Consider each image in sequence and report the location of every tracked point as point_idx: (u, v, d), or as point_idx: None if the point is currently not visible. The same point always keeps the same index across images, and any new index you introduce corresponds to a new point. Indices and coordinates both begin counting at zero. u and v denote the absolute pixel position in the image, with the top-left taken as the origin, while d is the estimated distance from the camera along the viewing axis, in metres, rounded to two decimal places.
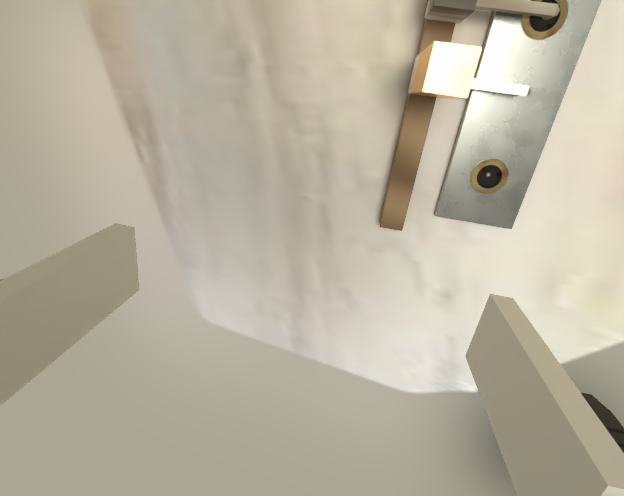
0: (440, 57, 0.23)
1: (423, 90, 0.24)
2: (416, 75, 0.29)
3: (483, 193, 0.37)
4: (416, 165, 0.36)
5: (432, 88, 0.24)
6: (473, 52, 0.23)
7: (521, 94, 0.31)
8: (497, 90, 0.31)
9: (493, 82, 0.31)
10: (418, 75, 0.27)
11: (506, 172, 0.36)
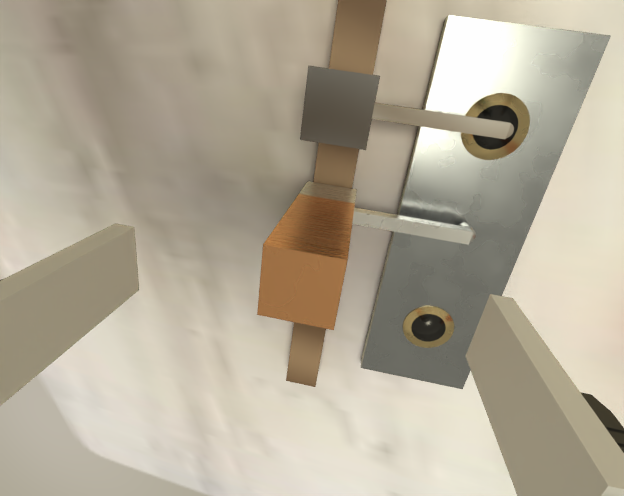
0: (278, 269, 0.13)
1: (259, 312, 0.14)
2: None
3: (421, 345, 0.27)
4: None
5: (273, 311, 0.14)
6: (333, 266, 0.12)
7: (461, 242, 0.21)
8: (426, 235, 0.21)
9: (419, 224, 0.21)
10: None
11: (451, 323, 0.25)
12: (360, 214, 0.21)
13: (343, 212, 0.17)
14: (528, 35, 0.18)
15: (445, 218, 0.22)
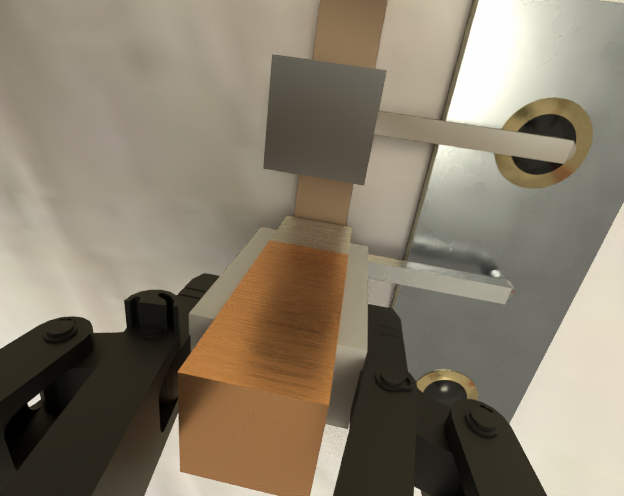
0: (207, 410, 0.07)
1: (183, 469, 0.08)
2: None
3: None
4: None
5: (205, 469, 0.08)
6: (303, 414, 0.07)
7: (495, 300, 0.15)
8: (446, 290, 0.15)
9: (438, 276, 0.15)
10: None
11: (474, 392, 0.20)
12: None
13: (331, 275, 0.11)
14: (597, 15, 0.13)
15: (470, 263, 0.17)
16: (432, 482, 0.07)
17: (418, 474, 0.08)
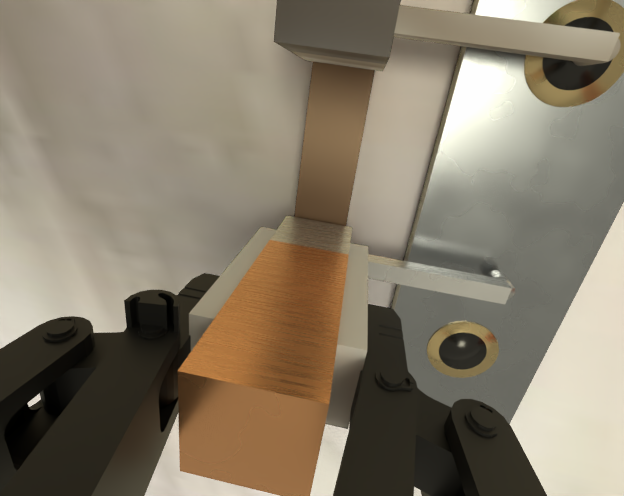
0: (207, 409, 0.07)
1: (182, 468, 0.08)
2: None
3: (452, 374, 0.20)
4: None
5: (205, 469, 0.08)
6: (304, 412, 0.07)
7: (495, 300, 0.15)
8: (446, 290, 0.15)
9: (438, 276, 0.15)
10: None
11: (494, 346, 0.18)
12: None
13: (331, 275, 0.11)
14: None
15: (494, 197, 0.16)
16: (432, 482, 0.07)
17: (419, 475, 0.08)
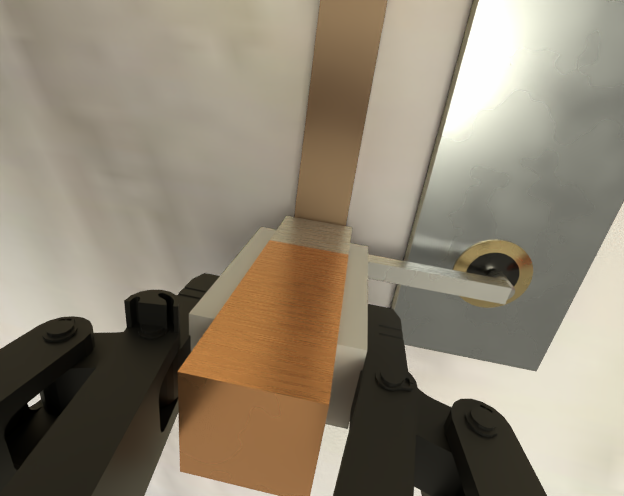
0: (207, 410, 0.07)
1: (183, 468, 0.08)
2: None
3: (479, 304, 0.18)
4: None
5: (205, 469, 0.08)
6: (304, 413, 0.07)
7: (495, 300, 0.15)
8: (446, 290, 0.15)
9: (437, 276, 0.15)
10: None
11: (528, 268, 0.17)
12: None
13: (331, 275, 0.11)
14: None
15: (534, 83, 0.14)
16: (432, 481, 0.07)
17: (418, 475, 0.08)
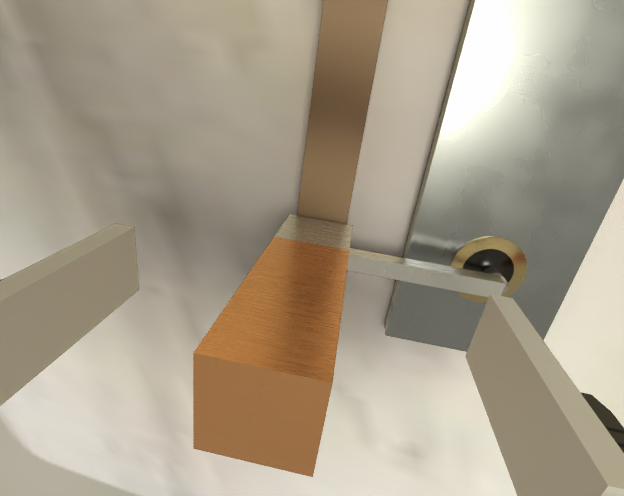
0: (220, 389, 0.08)
1: (196, 446, 0.09)
2: None
3: (475, 299, 0.18)
4: None
5: (217, 446, 0.09)
6: (309, 391, 0.07)
7: None
8: (443, 286, 0.16)
9: (435, 272, 0.16)
10: None
11: (522, 264, 0.17)
12: (357, 259, 0.16)
13: (332, 269, 0.12)
14: None
15: (526, 86, 0.14)
16: None
17: None
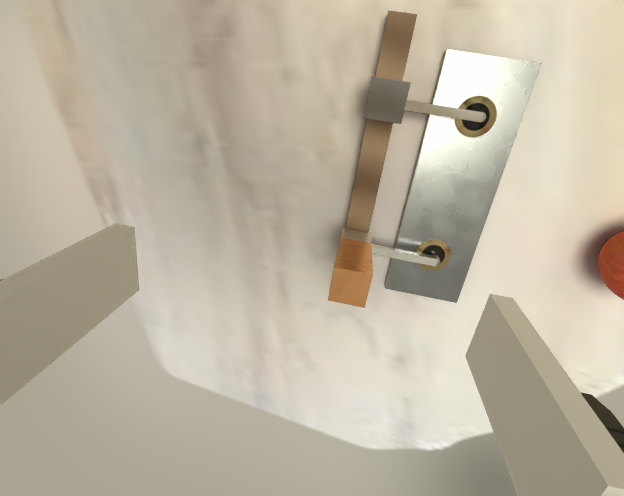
0: (340, 278, 0.28)
1: (328, 299, 0.29)
2: None
3: (428, 269, 0.38)
4: None
5: (335, 298, 0.28)
6: (366, 277, 0.27)
7: (431, 264, 0.36)
8: (411, 260, 0.36)
9: (407, 254, 0.36)
10: None
11: (448, 252, 0.37)
12: (373, 248, 0.36)
13: (366, 249, 0.32)
14: (494, 61, 0.31)
15: (445, 176, 0.35)
16: None
17: None
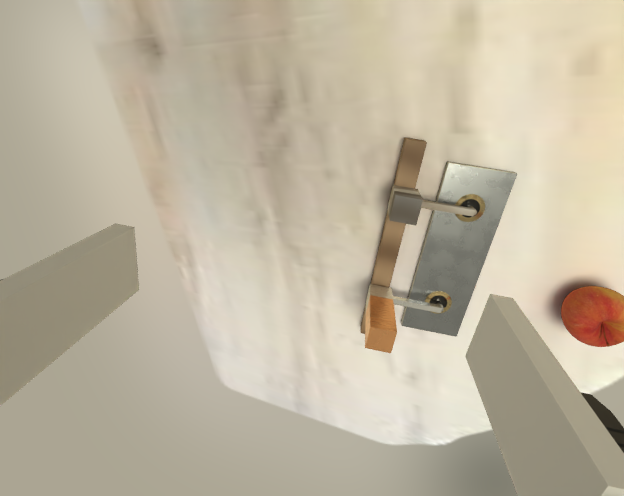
0: (374, 334, 0.40)
1: (365, 347, 0.41)
2: (367, 310, 0.46)
3: (434, 312, 0.50)
4: None
5: (370, 347, 0.41)
6: (392, 333, 0.40)
7: (437, 311, 0.48)
8: (422, 308, 0.48)
9: (419, 304, 0.48)
10: (367, 317, 0.44)
11: (450, 300, 0.49)
12: (393, 299, 0.48)
13: (390, 306, 0.44)
14: (483, 172, 0.42)
15: (447, 247, 0.47)
16: None
17: None
